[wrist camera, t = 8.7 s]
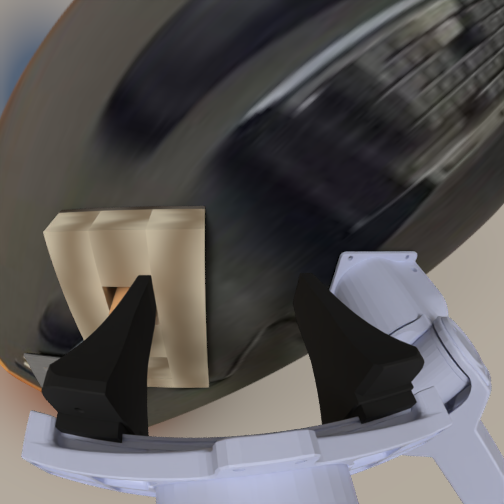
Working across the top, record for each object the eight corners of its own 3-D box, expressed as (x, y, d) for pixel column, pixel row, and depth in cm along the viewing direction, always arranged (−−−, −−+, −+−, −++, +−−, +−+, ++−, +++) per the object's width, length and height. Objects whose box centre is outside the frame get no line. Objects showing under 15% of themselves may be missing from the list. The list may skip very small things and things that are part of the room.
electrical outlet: (119, 350, 31) (119, 366, 29) (126, 390, 37) (127, 403, 35) (27, 342, 27) (23, 357, 25) (48, 384, 32) (47, 397, 30)
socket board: (205, 205, 21) (204, 229, 18) (207, 362, 32) (208, 387, 30) (61, 210, 19) (43, 232, 16) (111, 359, 30) (107, 383, 28)
